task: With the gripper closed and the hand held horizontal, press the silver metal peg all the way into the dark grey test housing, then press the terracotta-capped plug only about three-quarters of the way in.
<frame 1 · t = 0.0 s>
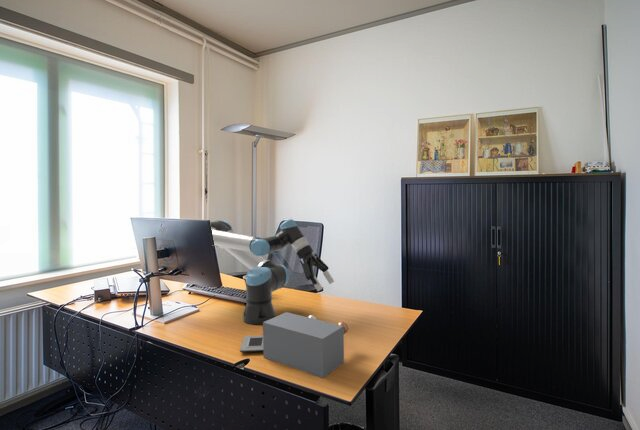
hand: (326, 286, 168), 15 cm above the table, tool tilted 35°, fingers open, 13 cm apart
housing: (313, 352, 133), on the table
plastic cup: (252, 296, 206), on the table
plug terracotta: (335, 332, 131), point 8 cm above the table, slide at 0.0 cm
electrical outlet: (255, 348, 139), on the table
silver metal peg: (304, 324, 139), point 8 cm above the table, slide at 0.0 cm
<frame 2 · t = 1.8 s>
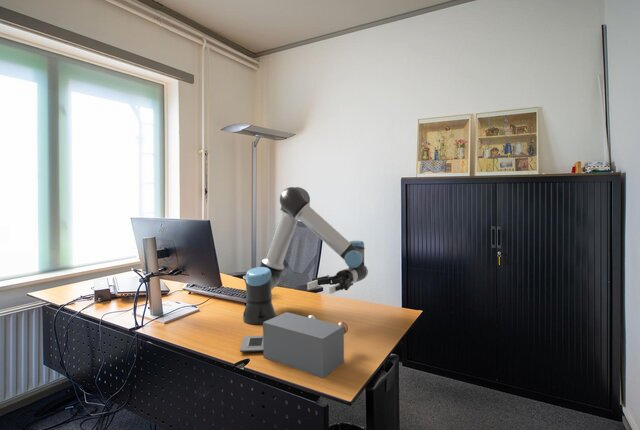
hand: (318, 288, 147), 20 cm above the table, tool horizontal, fingers open, 10 cm apart
nothing on the table moved.
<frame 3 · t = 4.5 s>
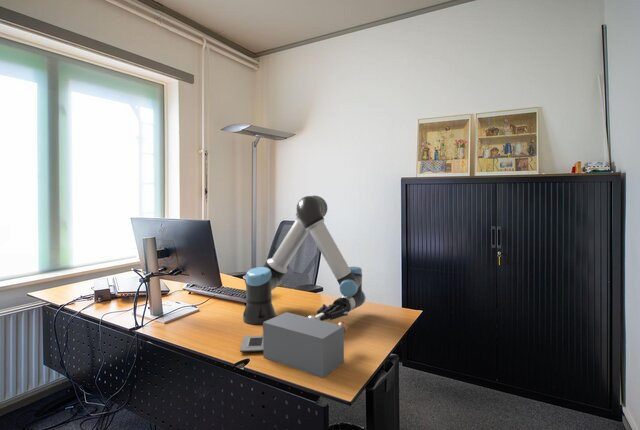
hand: (313, 320, 144), 8 cm above the table, tool horizontal, fingers closed
silver metal peg: (304, 325, 139), point 8 cm above the table, slide at 0.3 cm, touching gripper
everything else where it was.
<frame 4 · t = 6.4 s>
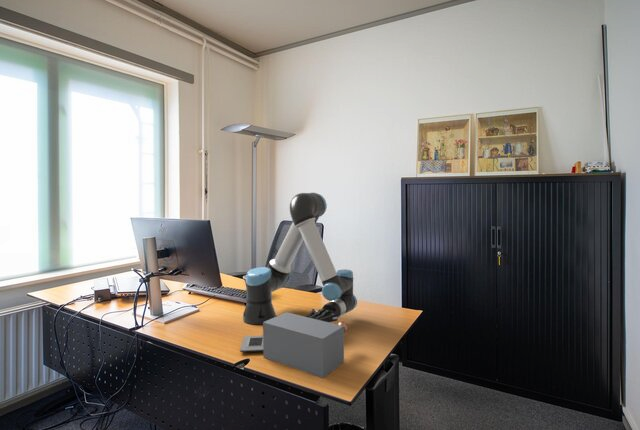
hand: (300, 326, 137), 8 cm above the table, tool horizontal, fingers closed
silver metal peg: (290, 331, 132), point 8 cm above the table, slide at 8.3 cm, touching gripper
everything else where it was.
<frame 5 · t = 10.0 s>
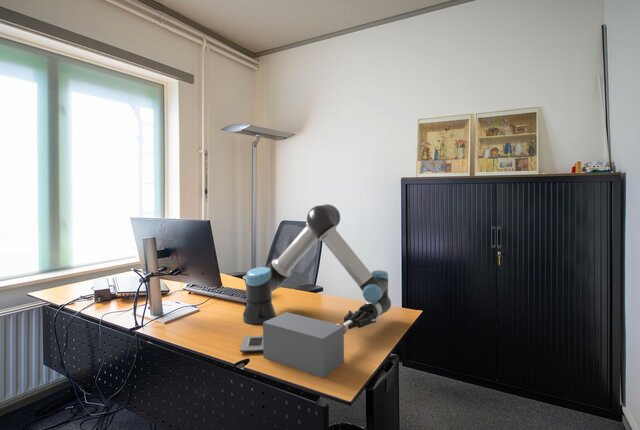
hand: (342, 329, 135), 8 cm above the table, tool horizontal, fingers closed
plug terracotta: (332, 334, 130), point 8 cm above the table, slide at 1.5 cm, touching gripper
silver metal peg: (290, 331, 132), point 8 cm above the table, slide at 8.3 cm
everything else where it was.
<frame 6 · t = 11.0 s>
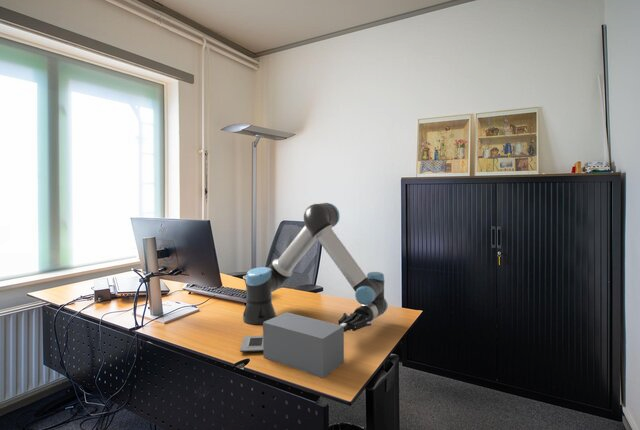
hand: (336, 332, 132), 8 cm above the table, tool horizontal, fingers closed
plug terracotta: (326, 337, 127), point 8 cm above the table, slide at 5.4 cm, touching gripper
everything else where it was.
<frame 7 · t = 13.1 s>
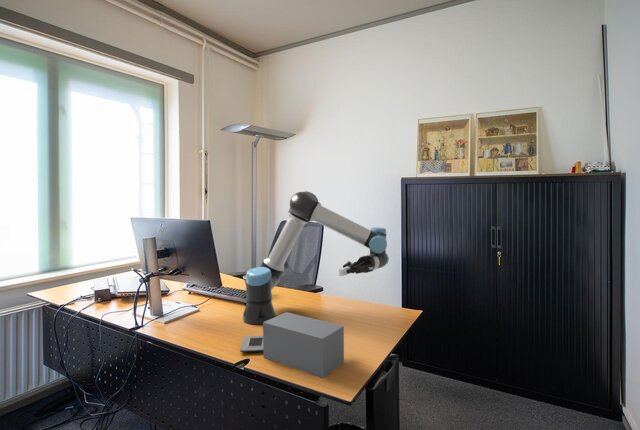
hand: (340, 272, 145), 27 cm above the table, tool horizontal, fingers closed
plug terracotta: (326, 337, 127), point 8 cm above the table, slide at 5.4 cm
everything else where it was.
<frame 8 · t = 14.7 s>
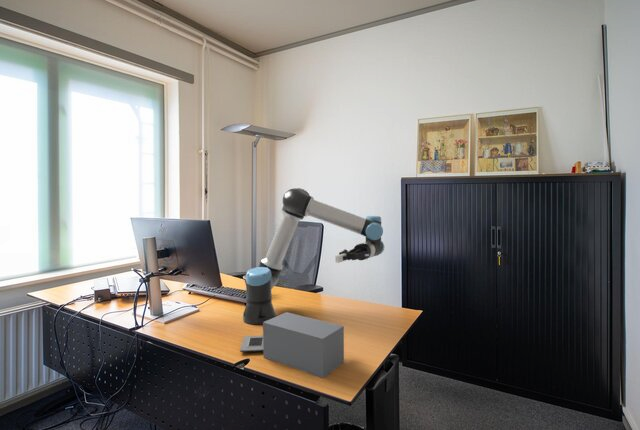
hand: (337, 259, 146), 32 cm above the table, tool horizontal, fingers closed
nothing on the table moved.
at the end: silver metal peg slide at 8.3 cm; plug terracotta slide at 5.4 cm; plug terracotta touching nothing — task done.
